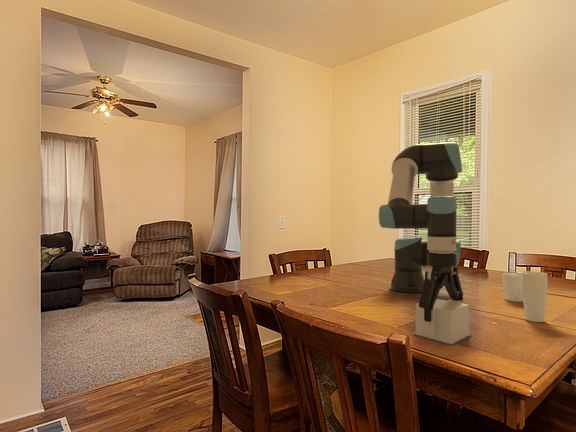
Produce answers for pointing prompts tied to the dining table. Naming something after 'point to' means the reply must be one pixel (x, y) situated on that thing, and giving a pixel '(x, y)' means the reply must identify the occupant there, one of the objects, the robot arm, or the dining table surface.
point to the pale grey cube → (445, 321)
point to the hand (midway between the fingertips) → (442, 327)
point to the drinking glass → (534, 295)
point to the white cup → (513, 287)
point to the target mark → (444, 342)
